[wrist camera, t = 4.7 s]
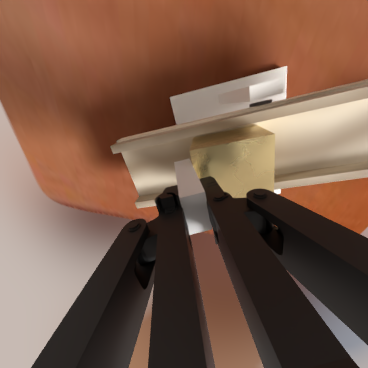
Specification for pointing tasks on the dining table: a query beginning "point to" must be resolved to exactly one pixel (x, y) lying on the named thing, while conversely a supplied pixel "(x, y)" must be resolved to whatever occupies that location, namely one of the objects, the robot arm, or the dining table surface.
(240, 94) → the stand
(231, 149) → the block
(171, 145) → the beam
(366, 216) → the dining table surface
